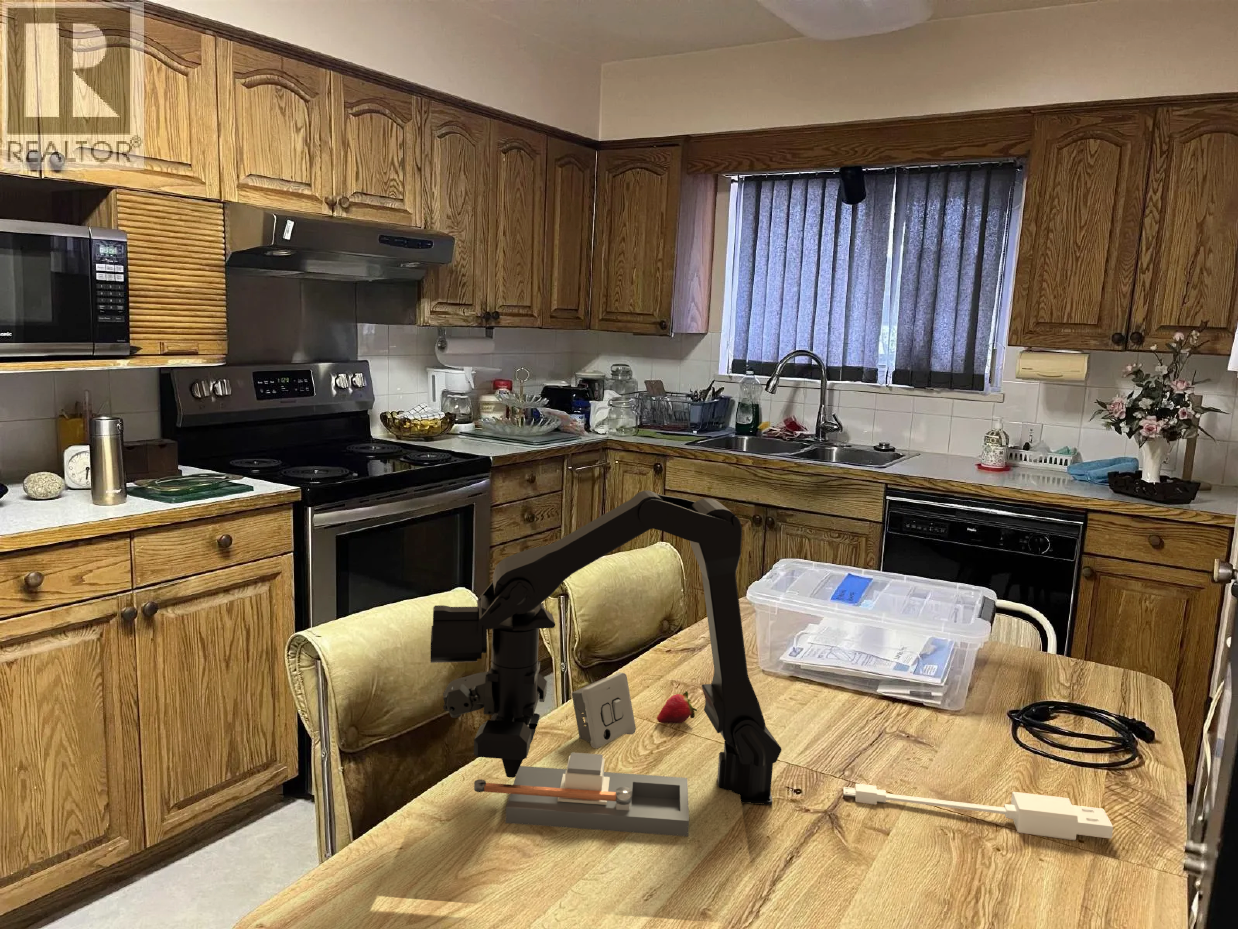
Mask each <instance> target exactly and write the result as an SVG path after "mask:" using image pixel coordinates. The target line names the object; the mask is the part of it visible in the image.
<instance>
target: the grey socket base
mask: <svg viewBox="0 0 1238 929" xmlns="http://www.w3.org/2000/svg"><path fill="white" fill-rule="evenodd" d="M566 769H567V768H556V767H555V768H554V767H543V766H542V767H541V766H539V767H538V766H527V765H520V768H519V770H518V772H517V774H516V776H515V777H514V781H513V784H512V785H523V786H537V787H551V788H560V786H561V781H562V777H563V774H565V773H566ZM604 777H610V781H609V789H608V792H616V789H617V788H619V787H627V788H630V789H631V790H632V801H631V803H630V804H627V805H621V804H618V803H617V802H616V801H607V805H602V804H588V803H574V802H561V801H558V797H549V796H535V795H522V794H509V797H508V800H507V802H506V807H505V824H516V825H526V826H527V825H528V826H539V827H540V826H541V827H543V826H544V827H553V828H554V827H556V828H569V829H582V830H595V831H610V832H623V833H624V832H625V833H633V834H634V833H636V834H649V835H650V834H652V835H664V836H665V835H666V836H675V837H676V836H678V837H689V830H690V829H689V826H690V811H689V810H690V808H689V786H688V777H682V776H681V777H680V776H679V777H678V776H665V775H653V774H637V773H627V772H626V773H625V772H611V771H610V772H609V771H604Z"/></svg>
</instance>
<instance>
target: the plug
mask: <svg viewBox="0 0 1238 929" xmlns="http://www.w3.org/2000/svg"><path fill="white" fill-rule="evenodd" d="M605 761H606V760H605V757H603V754H601V753H599V754H598V753H584V752H574V751H573V752H571V753H570V755H569V756H568V761H567V765H566V768H565V769H566V773H565V774H563V777H562V781H561V786H560V788H565V789H579V790H592V791H606V792H608V789H609V781H610V777H604V772H605ZM558 801H561V802H574V803H588V804H602V805H607V801H604V800H590V799H577V798H563V797H558Z"/></svg>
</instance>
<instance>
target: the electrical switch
mask: <svg viewBox="0 0 1238 929" xmlns="http://www.w3.org/2000/svg"><path fill="white" fill-rule="evenodd" d="M571 699H572V704H573V708H574V713H575V714H574V715H575V720H576V725H577V733H578V737H579V739H581V740H584V741H586V742H587V743H590V746H591V748H593V749H598V748H601V747H603V746H605V745H606V744H609V743H611V742H612V741H614V740H616V739H617V738H620V737H621V736H623V735H634V734H635V733H636V730H637V727H636V721H635V715H634V710H633V704H632V700H631V699H632V698H631V694H630V687H629V682H628V676H627V674H626V673H625V672H618V673H615V674H613V675H611V676H608V677H603V678H601V679H599V680H596V681H595V682H592V683H589V684H588V685H585V686H584V687H581V688H578V689H576V690H574V691H572V692H571Z"/></svg>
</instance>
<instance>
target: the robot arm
mask: <svg viewBox="0 0 1238 929" xmlns="http://www.w3.org/2000/svg"><path fill="white" fill-rule="evenodd" d="M652 529H653V530H658V531H661V532H664V533H666V534H670V535H673V536H675V537H677V538H681V539H683V540H686V541H689V543H690V547H691V549H692V552H693V554H694V557H695V560H696V562H697V565H698V566H699V569H700V572H701V579H702V588H703V592H704V600H705V610H706V617H707V623H708V624H707V626H708V633H709V640H710V646H711V656H712V664H713V669H714V670H713V677H712V681H711V683H703V684H701V689H702V692H703V696H704V701H705V702H704V707H703V711H704V713H705V715H706V716H707V718H708V719H709V721H710V723H711V725H712V726H713V728H714V730H715V731H716V733H717V734H720V735H721V737H722V738H723V740H724V743H723V751H720V752H719V753H718V765H717V776H716V779H717V787H718V789H722V790H724V791H730V792H732V793H733V794H736V795H739V797H740V803H741V804H742V803H743V804H756V805H772V804H773V796H772V791H771V790H772V779H773V769H774V768H773V767H774V764H775V763H777V761H778V760H779V757H780V755H781V752H782V750H783V749H782V747H781V745H780V744H779V743H778V741H777V740H776V739H775V737H774V736H773V734H772V733H771V732H770V730H769V729H768V727H767V726H766V722H765V717H764V715H763V711H762V708H761V705H760V702H759V700H758V699H759V698H758V697H757V694H756V692H755V689H754V687H753V684H752V682H751V681H750V677H749V674H748V666H747V656H746V646H745V639H744V632H743V624H742V617H741V616H742V615H741V607H740V598H739V591H738V590H739V589H738V583H737V571H738V567H739V563H740V559H741V556H742V543H743V540H742V539H743V526H742V523H741V520H740V519H739V517H738V516H737V515H736V514H735V513H733V512H732V511H731V510H730V509H729V508H727V507H726V506H725V505H723V504H722V503H721V502H720V501H718V500H716V499H713V498H701V499H699V500H697V501H694V500H690V499H686V498H684V497H683V498H682V497H678V496H671V495H667V494H666V495H665V494H660V493H657V492H655V491H651V490H641V491H639V492H637V493H636V494H634V496H633V497H631V498H630V499H629V500H627V501H625V502H624V503H622V504H620V505H619V506H617V507H615V508H613V509H611V510H610V511H607V512H605V513H604V514H602V515H600V516H599V517H597V518H596V519H593V520H591V521H590V522H588V523H587V524H584V525H583V526H581V527H580V528H578V529H576V530H574V531H573V532H571V533H569V534H567V535H565V536H564V537H562V538H560V539H558V540H557V541H554V542H552V543H549V544H547V545H543V546H537V547H531V548H529V549H528V548H527V549H525V550H522V551H520V552H517V553H515V554H512V555H509V556H506V557H504V558H502V559H501V561H499V562H498V563H497V565H496V566H495V569H494V571H493V575H492V581H491V582H490V583H489V585H488V586H487V587H486V589H485V590H484V591H483V592H482V593H481V595H480V596H479V597H478V599H477V601H476V605H477V606H449V605H442V604H441V605H434V606H433V608H432V610H433V611H432V625H431V632H430V633H431V634H430V663H431V664H436V663H437V664H439V663H441V664H442V663H444V664H445V663H477V662H478V660H481V659H483V658H482V656H483V654H487V652H488V647H487V646H488V630H491V664H490V668H489V670H488V671H484V672H482V671H481V672H477V673H473V674H470V675H466V676H462V677H458V678H456V679H453V680H451V681H450V682H449V683H448V685H447V686H446V687H445V690H444V691H443V693H442V694H443V705H442V706H443V707H442V709H443V710H444V711H445V712H448V713H449V715H450V717H451V718H459V717H461V716H462V715H464V714H468V713H472V712H475V711H479V710H482V709H483V715H491V717H490V719H487V720H486V721H484V722H483V723H482V724H481V725H479V728H478V730H477V732H476V735H475V737H474V740H473V755H474V756H475V757H477V758H486V759H487V758H488V759H497V760H498V759H500V760H502V766H503V769H504V773H505V776H506V777H507V778H511V779H512V778H514V779H515V777H516V774H517V772H518V770H519V768H520V766H522V763H523V761H524V760H525V759H527V758H528V756H529V752H530V748H531V744H532V742H533V740H534V737H535V734H536V729H537V727H538V724H539V721H540V717H541V715H540V714H539V713H535V712H536V708H537V706H538V703H545V700H546V697H547V695H548V694H547V693H548V689H547V688H548V680H547V679H545V677H544V676H543V675H542V674H539V672H540V669H541V661H539V640H540V639H539V636H540V634H539V632H540V629H554V628H555V627H556V622H555V619H554V615H553V613H551V612H550V611H548V610H547V609H546V608H545V606H544V604H543V602H544V601H546V600H547V599H548V598H549V597H551V596H552V595H553V594H554V593H555V592H556V590H558V588H559V587H560V586H561V585H562V584H563V582H565V581H566V580H567V579H568V578H569V577H571V576H572V575H573V574H575V573H576V572H578V571H580V570H582V569H584V568H585V567H587V566H589V565H590V564H592V563H594V562H596V561H597V560H599V559H602V558H603V557H604V556H606V555H608V554H610V553H611V552H613V551H615V550H617V549H618V548H620V547H622V546H624V545H625V544H628V543H629V542H630V541H632V540H634V539H635V538H638V537H639V536H641V535H643V534H645V533H646V532H648V531H650V530H652Z"/></svg>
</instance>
